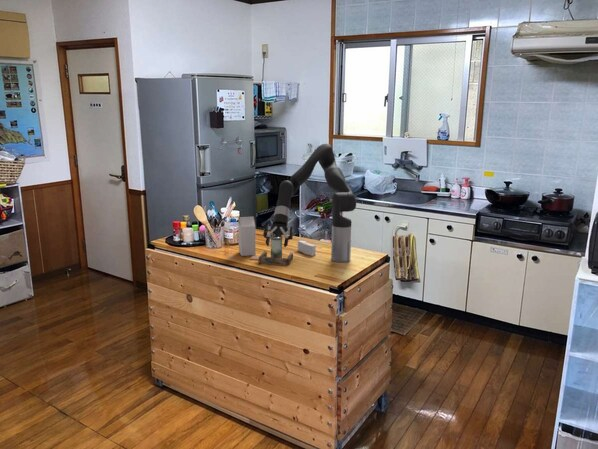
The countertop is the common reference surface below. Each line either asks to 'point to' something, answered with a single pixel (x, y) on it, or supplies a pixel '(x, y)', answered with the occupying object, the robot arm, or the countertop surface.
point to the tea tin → (276, 246)
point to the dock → (275, 259)
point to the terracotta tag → (255, 257)
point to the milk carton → (247, 236)
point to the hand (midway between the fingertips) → (276, 245)
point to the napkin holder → (306, 248)
